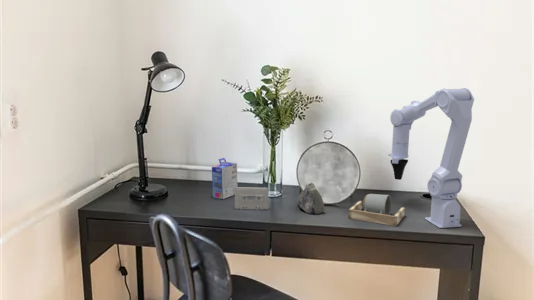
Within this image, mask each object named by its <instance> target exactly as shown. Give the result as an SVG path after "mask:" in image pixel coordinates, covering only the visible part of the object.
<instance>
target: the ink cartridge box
mask: <svg viewBox="0 0 534 300" xmlns="http://www.w3.org/2000/svg"><path fill="white" fill-rule="evenodd" d="M218 161H219V164H217V165H213V166H211V179H212V180H211V181H212V183H211V184H212V185H211V186H212V198H215V199H220V200H224V199H227V198H229V197H232V196H235V187H239V186H238V163H237V162H236V163H235V162H230V161H226V158H225V157H222V158H218Z"/></svg>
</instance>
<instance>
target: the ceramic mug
mask: <svg viewBox="0 0 534 300" xmlns="http://www.w3.org/2000/svg"><path fill="white" fill-rule="evenodd" d="M391 208H392V197H391V196H390V194H380V193H379V194H378V193H377V194H376V193H369V194H368V193H367V194H366V195H365V196H364V198H363V200H362V211H366V212H372V213H379V214H385V215H391V210H392V209H391Z"/></svg>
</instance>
